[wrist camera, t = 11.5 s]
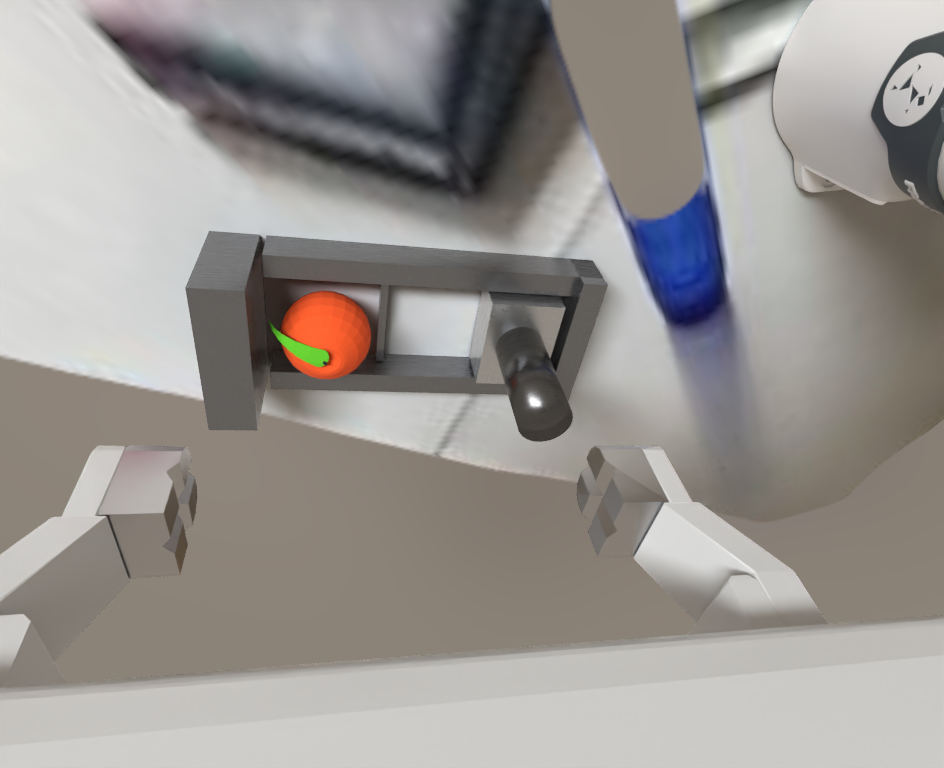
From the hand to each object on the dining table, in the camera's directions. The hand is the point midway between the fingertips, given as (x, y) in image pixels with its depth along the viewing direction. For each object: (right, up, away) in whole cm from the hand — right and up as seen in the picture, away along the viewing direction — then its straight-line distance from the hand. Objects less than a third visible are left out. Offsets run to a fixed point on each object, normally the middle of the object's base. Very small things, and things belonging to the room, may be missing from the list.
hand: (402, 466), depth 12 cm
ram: (+5, +7, +40) cm, 41 cm away
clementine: (-11, +8, +37) cm, 39 cm away
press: (-4, +8, +38) cm, 39 cm away
